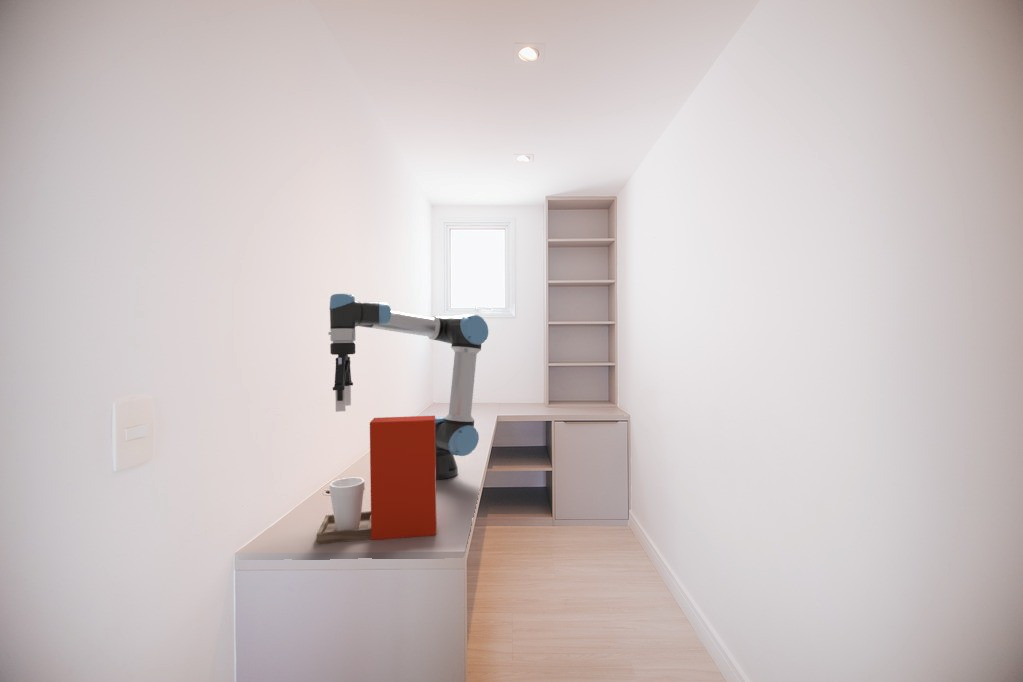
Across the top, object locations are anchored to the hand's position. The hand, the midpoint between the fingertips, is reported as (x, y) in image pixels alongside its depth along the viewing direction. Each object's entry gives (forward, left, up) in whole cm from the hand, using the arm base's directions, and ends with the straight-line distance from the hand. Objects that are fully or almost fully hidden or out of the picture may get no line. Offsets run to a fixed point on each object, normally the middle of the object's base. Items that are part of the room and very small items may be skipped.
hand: (343, 408), depth 144 cm
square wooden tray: (+17, +3, -33) cm, 37 cm away
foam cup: (+17, +3, -32) cm, 36 cm away
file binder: (+22, +19, -33) cm, 44 cm away
